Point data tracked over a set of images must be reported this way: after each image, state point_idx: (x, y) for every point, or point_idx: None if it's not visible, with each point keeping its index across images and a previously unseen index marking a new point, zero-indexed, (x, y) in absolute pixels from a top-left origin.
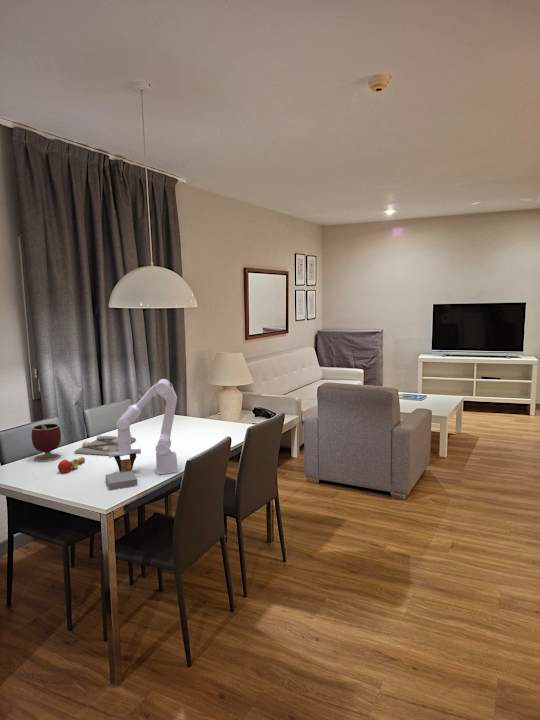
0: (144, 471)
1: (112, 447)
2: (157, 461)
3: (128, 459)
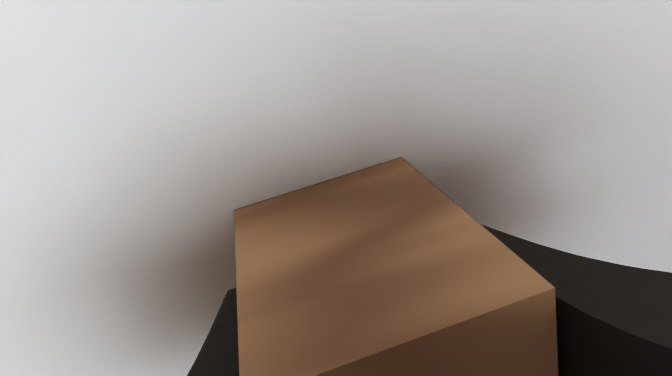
0: (606, 211)
1: None
2: None
3: (522, 342)
